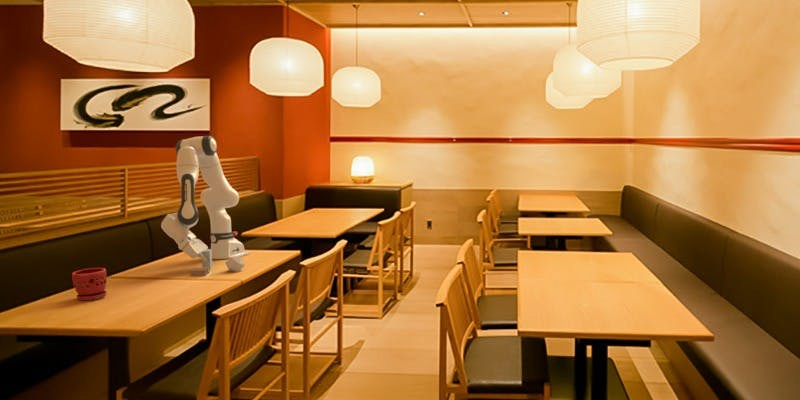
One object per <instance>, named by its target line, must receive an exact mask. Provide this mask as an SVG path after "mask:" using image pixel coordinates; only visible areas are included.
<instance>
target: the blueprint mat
mask: <svg viewBox="0 0 800 400" xmlns="http://www.w3.org/2000/svg"><path fill="white" fill-rule="evenodd" d="M211 274H212V272H210V273H209V274H208V275H206V276H191V274H190V275H188V278H199V277H200V278H201V277H204V278H205V277H206V278H207V277H208V276H210V275H211Z"/></svg>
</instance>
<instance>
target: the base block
mask: <svg viewBox="0 0 800 400" xmlns="http://www.w3.org/2000/svg"><path fill="white" fill-rule="evenodd" d="M209 273H211V271H210V270H209V267H199V266H198V267H197V266H196V267H194V268H192V269H190V275H191V276H206V275H208V274H209Z"/></svg>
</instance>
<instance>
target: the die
mask: <svg viewBox="0 0 800 400" xmlns="http://www.w3.org/2000/svg"><path fill="white" fill-rule="evenodd" d="M225 266H226V267H227V269H228V272H234V273H235V272H236V273H239V272H240V271H241V270H242V269H243V268H244V267H245V266H246V265H245V263H244V260H243V257H242V256H231V257H230V258H229V259H227V261H225Z"/></svg>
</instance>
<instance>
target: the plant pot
mask: <svg viewBox="0 0 800 400" xmlns="http://www.w3.org/2000/svg"><path fill="white" fill-rule="evenodd" d="M71 278H72V279H71V280H72V284H73V287H74V290H75V291H76V293H77V295H76V299H78V300H79V301H87V300H90V301H93V300H94V301H95V300H100V299H102V298H105V297H106V295H107V294H108V292H107V290H106V287H107V279H108V278H107V269H106V268H105V267H92V268H84V269H79V270H76V271H73V272H72V273H71ZM92 280H93V281H92Z"/></svg>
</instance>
